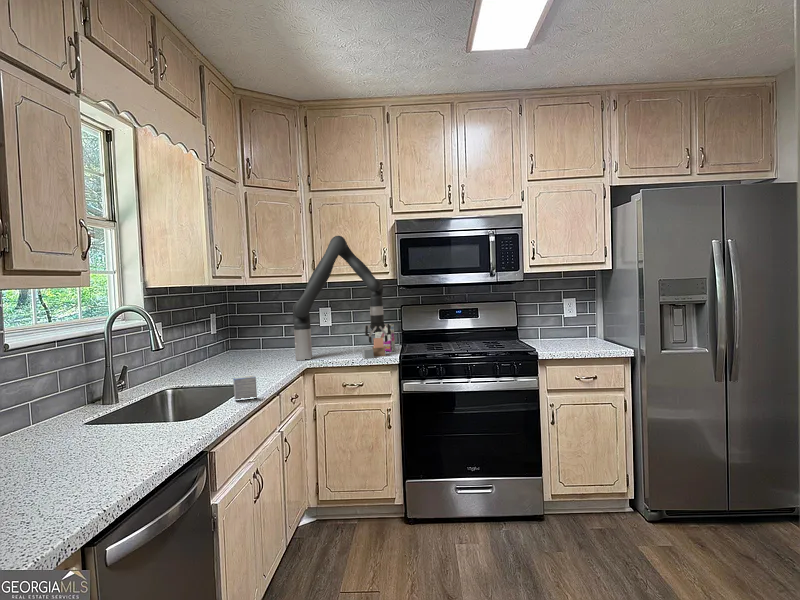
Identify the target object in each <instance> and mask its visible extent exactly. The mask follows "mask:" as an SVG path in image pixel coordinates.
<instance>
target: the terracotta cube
mask: <svg viewBox="0 0 800 600" xmlns="http://www.w3.org/2000/svg"><path fill="white" fill-rule="evenodd" d="M372 340H373V341H372V343H373V347H374V348H381V347H384V346H383V338H375V337H372Z"/></svg>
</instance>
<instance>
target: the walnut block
mask: <svg viewBox="0 0 800 600" xmlns="http://www.w3.org/2000/svg"><path fill="white" fill-rule="evenodd" d="M371 349H373V355H374V356H379V357H386V352H385V346H384V347H381V348H374V346H372V348H371Z"/></svg>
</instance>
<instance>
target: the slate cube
mask: <svg viewBox="0 0 800 600" xmlns="http://www.w3.org/2000/svg"><path fill="white" fill-rule="evenodd" d="M361 353H362V355H361V356H362V357H363V358H362V359H364V360H369V359H370V360H371V359H374V358H375V357H374V355H373V349H372V348H362V349H361Z"/></svg>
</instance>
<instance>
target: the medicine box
mask: <svg viewBox="0 0 800 600" xmlns="http://www.w3.org/2000/svg"><path fill="white" fill-rule="evenodd" d="M232 379H233V393H234V400H235V399H241V398H250V397H257V398H258V394H257V393H258V391H257V389H258V388H257V377H256V375H254V374H252V375H244V376H236V377H233V378H232Z"/></svg>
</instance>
